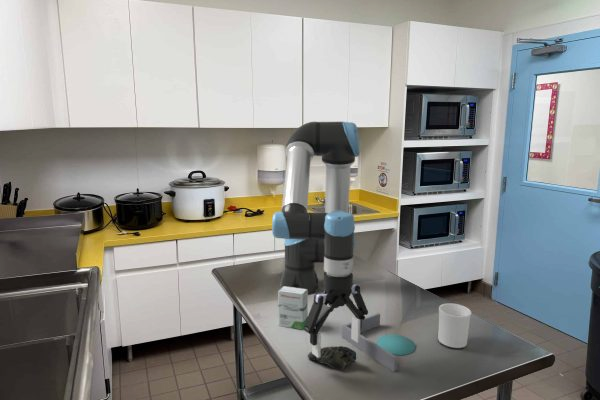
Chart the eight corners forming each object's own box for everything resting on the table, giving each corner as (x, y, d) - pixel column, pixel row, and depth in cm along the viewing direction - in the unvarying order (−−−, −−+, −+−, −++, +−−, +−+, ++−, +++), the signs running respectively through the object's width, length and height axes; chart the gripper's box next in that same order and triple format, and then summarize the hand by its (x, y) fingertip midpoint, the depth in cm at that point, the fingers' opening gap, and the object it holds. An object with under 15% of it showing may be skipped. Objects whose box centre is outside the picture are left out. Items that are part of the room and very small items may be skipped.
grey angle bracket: (342, 337, 125) (342, 325, 125) (377, 324, 134) (378, 312, 133) (393, 371, 109) (394, 357, 108) (431, 354, 117) (432, 341, 116)
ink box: (308, 323, 134) (308, 288, 132) (303, 330, 130) (303, 294, 127) (283, 319, 137) (283, 284, 135) (277, 325, 132) (277, 290, 130)
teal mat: (368, 342, 123) (368, 341, 123) (394, 331, 129) (394, 330, 129) (396, 359, 114) (396, 358, 114) (423, 347, 120) (423, 346, 120)
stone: (312, 352, 118) (312, 334, 117) (358, 360, 114) (359, 342, 113) (304, 365, 112) (304, 346, 111) (353, 374, 107) (353, 355, 106)
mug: (465, 353, 117) (468, 319, 115) (433, 344, 122) (435, 312, 120) (472, 337, 126) (475, 305, 124) (442, 329, 131) (444, 298, 129)
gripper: (307, 286, 98) (306, 369, 102) (383, 267, 112) (379, 340, 116) (290, 277, 104) (289, 355, 108) (363, 259, 118) (361, 329, 122)
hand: (336, 347), depth 112 cm, fingers open, 13 cm apart
